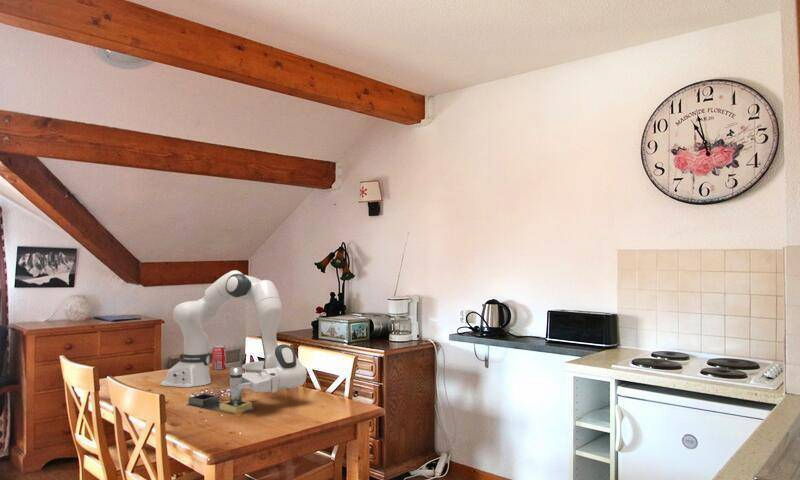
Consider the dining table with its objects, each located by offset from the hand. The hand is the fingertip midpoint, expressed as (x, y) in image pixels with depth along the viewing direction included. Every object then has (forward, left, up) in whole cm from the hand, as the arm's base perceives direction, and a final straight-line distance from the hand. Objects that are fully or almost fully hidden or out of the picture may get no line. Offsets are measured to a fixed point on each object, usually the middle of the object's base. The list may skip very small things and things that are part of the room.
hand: (234, 384), depth 220 cm
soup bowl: (-5, +61, -11) cm, 62 cm away
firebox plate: (-7, +5, -11) cm, 14 cm away
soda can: (-37, +81, -11) cm, 89 cm away
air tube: (+1, +1, -10) cm, 10 cm away
